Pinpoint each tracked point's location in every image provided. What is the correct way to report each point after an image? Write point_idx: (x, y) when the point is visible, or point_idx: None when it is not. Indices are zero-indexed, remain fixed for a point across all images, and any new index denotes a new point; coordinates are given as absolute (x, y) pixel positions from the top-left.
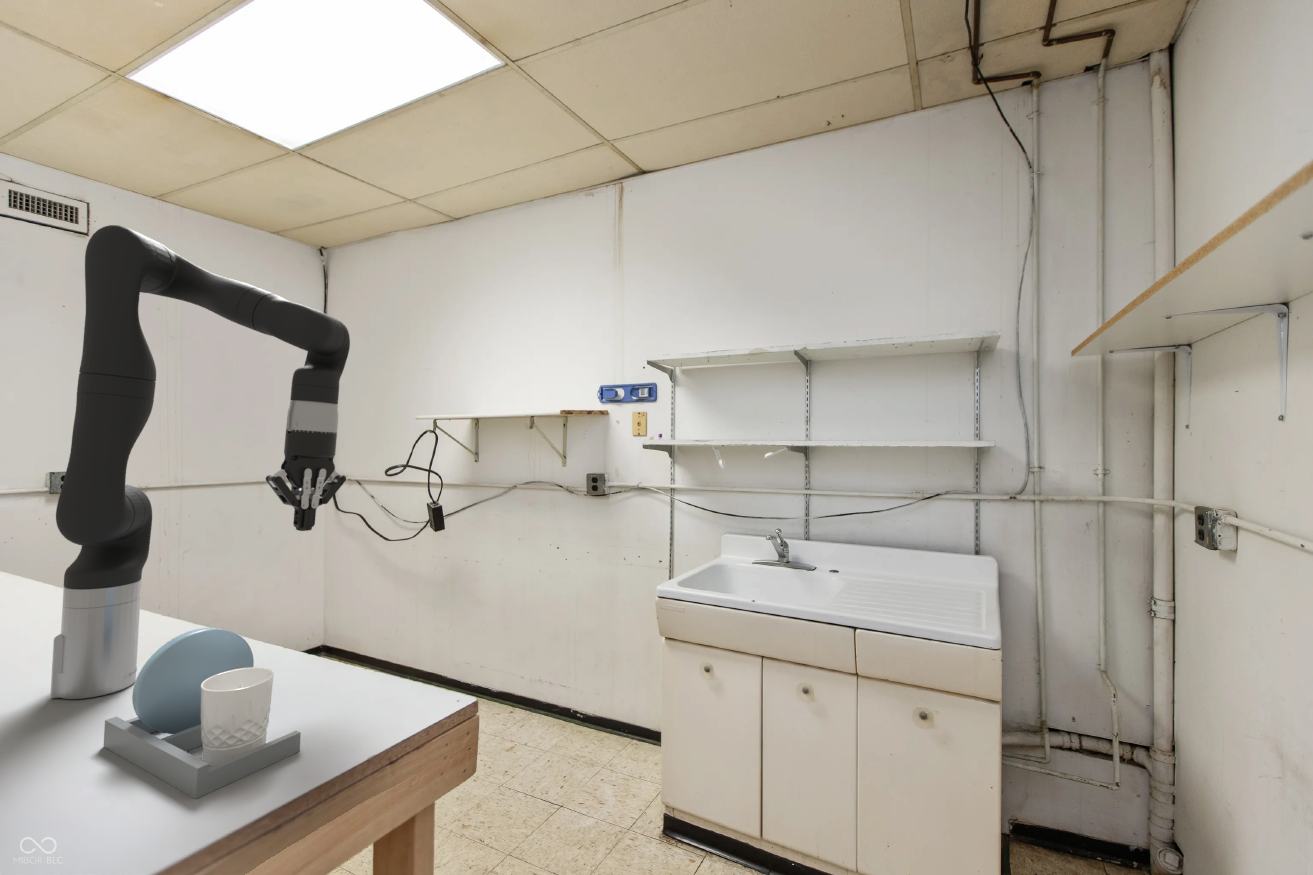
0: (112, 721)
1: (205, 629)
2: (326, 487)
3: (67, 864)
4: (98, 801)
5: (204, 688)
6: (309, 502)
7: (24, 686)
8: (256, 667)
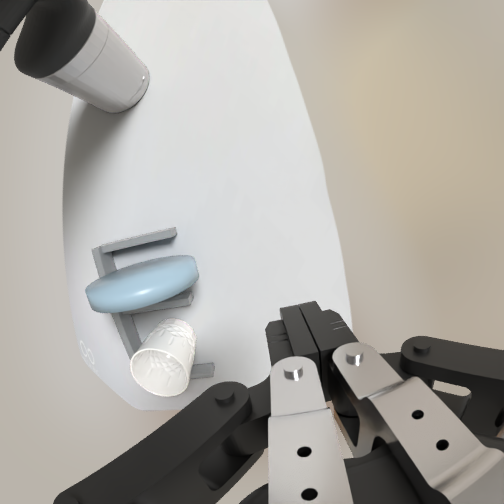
0: (95, 257)
1: (122, 300)
2: (479, 407)
3: (101, 378)
4: (103, 332)
5: (132, 373)
6: (342, 406)
7: None
8: (177, 360)
